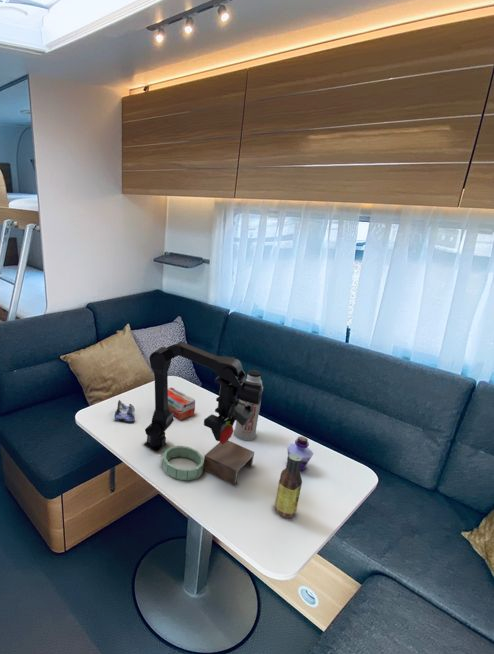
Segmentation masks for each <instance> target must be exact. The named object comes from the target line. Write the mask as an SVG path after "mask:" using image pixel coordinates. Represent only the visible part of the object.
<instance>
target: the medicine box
mask: <svg viewBox="0 0 494 654" xmlns="http://www.w3.org/2000/svg"><path fill="white" fill-rule="evenodd" d="M168 408H169V410H170V411H173V412H174V414H173V417H175V418H176V419H178V420H180V421H183V420H185V419H187V418H190V417H192V416H194V415H195V411H196V410H195V409H196V399H195V398H193V397H192V396H190V395H187V394H186V393H184V392H182V391H181V390H179V389H177V388H175V387H173V386H170V387H168Z"/></svg>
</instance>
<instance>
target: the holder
mask: <svg viewBox="0 0 494 654" xmlns="http://www.w3.org/2000/svg"><path fill="white" fill-rule="evenodd" d="M177 457H181V458H188V459H190V460H192V461H194V462H195V463H196V464H197V465H196V467H192V468H181V467H177V466H175V465H173V464H172V463H170V462H169V460H170V459H172V458H177ZM203 466H204V456H203V455H202V453H201V452H200V451H198V450H196V449H194V448H192V447H190V446H184V445H174V446H171V447H168V448H167V449H166V450H165V451H164V452H163V456H162V469H163V470H164V472H165V474H166V475H168V476H170V477H172V478H173V479H176V480H181V481H187V482H188V481H192V480H196V479H198V478H199V477H200V476H202V474H203V471H204V469H203Z"/></svg>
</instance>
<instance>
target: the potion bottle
mask: <svg viewBox="0 0 494 654" xmlns="http://www.w3.org/2000/svg"><path fill="white" fill-rule="evenodd" d="M309 444H310V443H309V439H308V438H307V437H305V436H301V435H300V436H298V437H297V438H296V439H295V441H294V443H290V445H288V446H287V448H286V449H287V450H286V451H287V455H288V454H290V453H295V454H298V455H300V456H301V457H302V463H301V466H300V472H304V470H305V469H306V467H307V465H308V463H309V462H310V461H311V459H312V458H313V456H314V452H313V451H312V449H311V448H310V447H309Z"/></svg>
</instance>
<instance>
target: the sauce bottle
mask: <svg viewBox="0 0 494 654" xmlns="http://www.w3.org/2000/svg"><path fill="white" fill-rule="evenodd" d="M286 459H287V461H286V466H285V468H284V469H283V470H281V473H280V477H279V480H278V485H277V491H276V497H275V501H274V511H275V512H276V513H277V515H279V516H281V517H283V518H288V519H291V518H293V517H295V515H296V512H297V510H298V504H299V500H300V495H301V489H302V485H303V478H302V475H301V471H300V466H301V463H302V457H301V456H300V455H298V454H295V453H290V454H288V453H287V457H286Z"/></svg>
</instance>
